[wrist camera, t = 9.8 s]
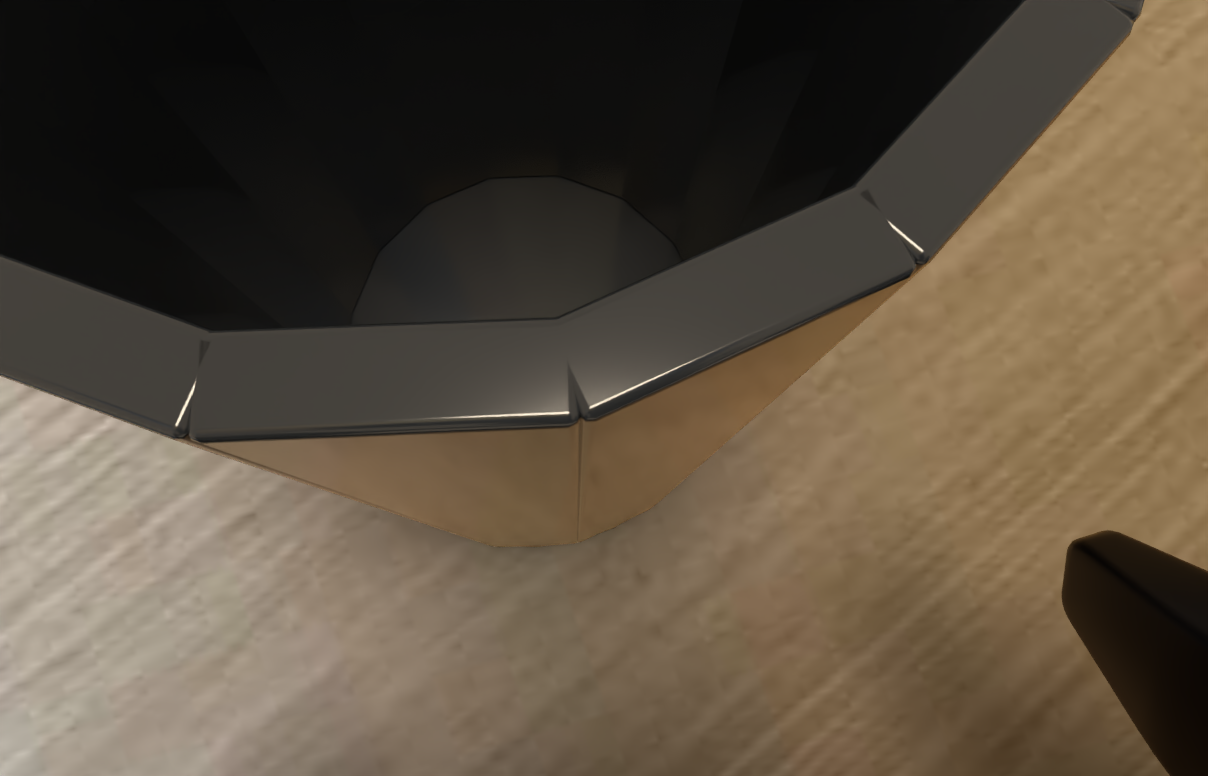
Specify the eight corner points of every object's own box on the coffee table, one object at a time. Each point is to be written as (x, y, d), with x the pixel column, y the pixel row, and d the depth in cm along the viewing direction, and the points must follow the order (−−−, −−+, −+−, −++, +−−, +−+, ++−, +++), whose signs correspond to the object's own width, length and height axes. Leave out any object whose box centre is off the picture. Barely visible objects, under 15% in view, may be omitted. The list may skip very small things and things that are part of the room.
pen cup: (787, 445, 16) (1532, -14, 4) (430, 614, 16) (-218, 792, 3) (622, 120, 17) (744, -1100, 5) (281, 264, 17) (-657, -724, 4)
